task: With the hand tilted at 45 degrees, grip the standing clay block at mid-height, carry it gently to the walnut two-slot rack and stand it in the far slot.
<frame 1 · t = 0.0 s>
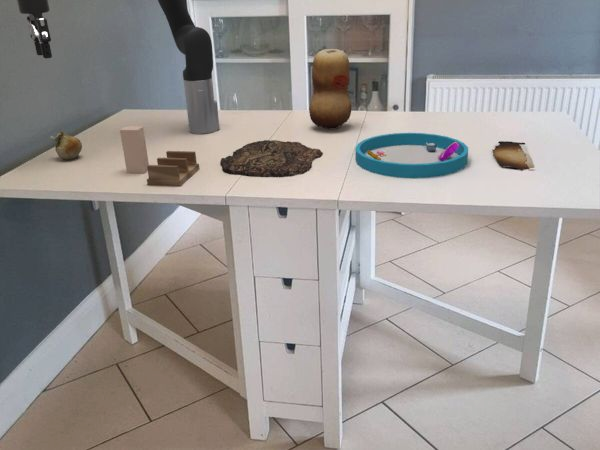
hand: (44, 56, 164), 29 cm above the table, tool pointing down, fingers open, 8 cm apart
rack: (174, 176, 156), on the table
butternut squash: (331, 128, 195), on the table
stone relief: (273, 161, 167), on the table
clay block: (138, 171, 162), on the table
onion: (70, 159, 175), on the table
art supply organizer: (410, 161, 162), on the table
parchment: (511, 157, 161), on the table
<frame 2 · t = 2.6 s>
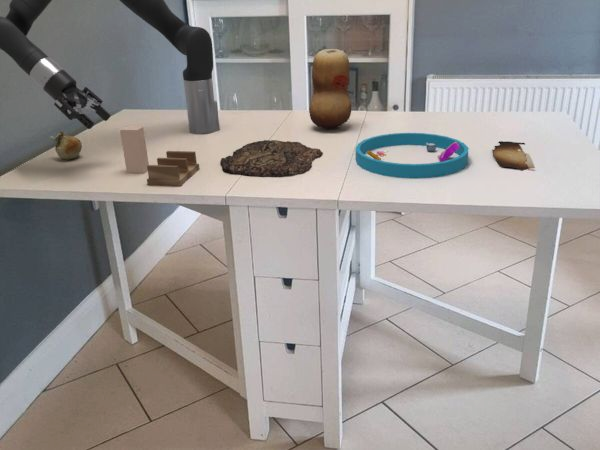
hand: (100, 122, 158), 13 cm above the table, tool tilted 45°, fingers open, 8 cm apart
nothing on the table moved.
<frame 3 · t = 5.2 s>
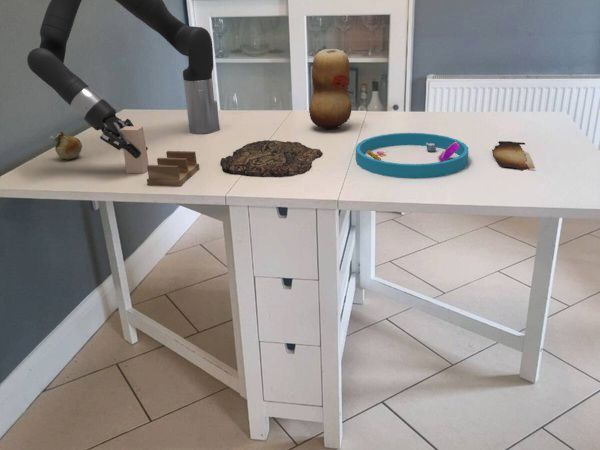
hand: (142, 153, 159), 5 cm above the table, tool tilted 45°, fingers closed on clay block, 3 cm apart
clay block: (138, 171, 162), on the table, touching gripper
everything else where it was.
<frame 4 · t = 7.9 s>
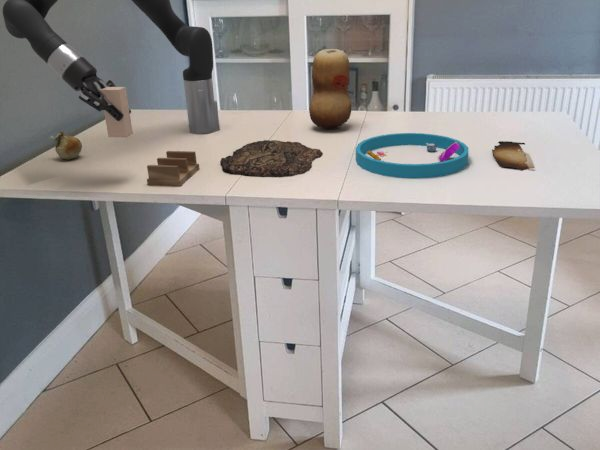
hand: (125, 116, 149), 17 cm above the table, tool tilted 45°, fingers closed on clay block, 3 cm apart
clay block: (120, 135, 151), point 12 cm above the table, touching gripper
everything else where it was.
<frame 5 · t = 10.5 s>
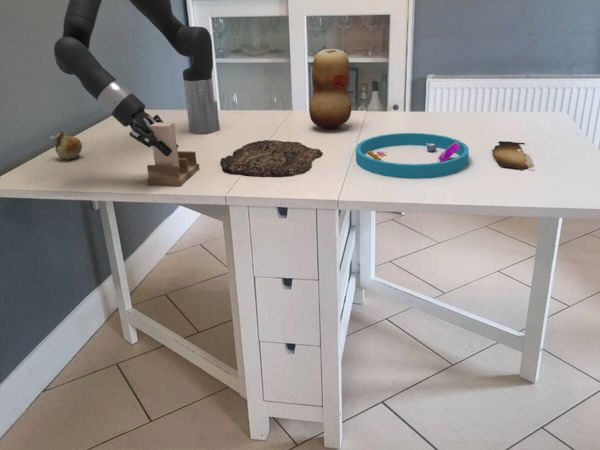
hand: (172, 151, 150), 8 cm above the table, tool tilted 45°, fingers closed on clay block, 3 cm apart
clay block: (168, 170, 152), point 3 cm above the table, touching gripper
everything else where it was.
when the fingers open (8 cm above the table, at t = 10.7 s): clay block drops 1 cm, resting on rack.
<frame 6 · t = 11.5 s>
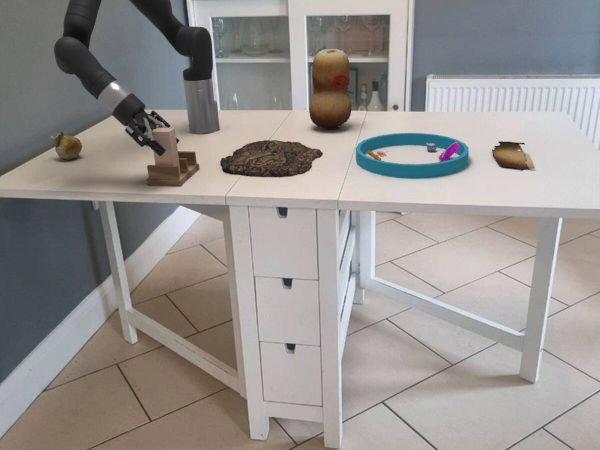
hand: (170, 148, 150), 9 cm above the table, tool tilted 45°, fingers open, 8 cm apart
clay block: (168, 175, 153), point 1 cm above the table, touching rack
everything else where it was.
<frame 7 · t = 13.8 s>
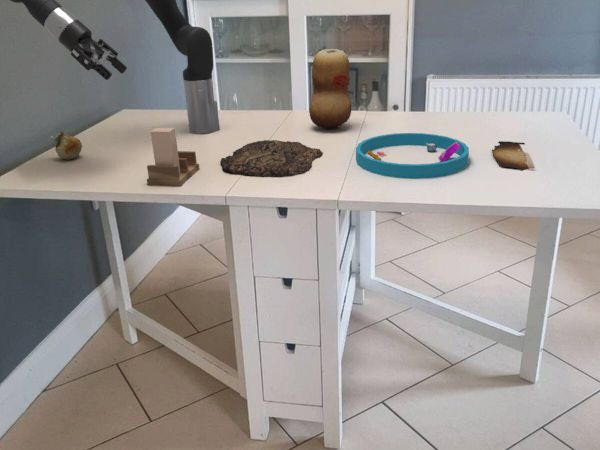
hand: (117, 74, 155), 26 cm above the table, tool tilted 45°, fingers open, 8 cm apart
nothing on the table moved.
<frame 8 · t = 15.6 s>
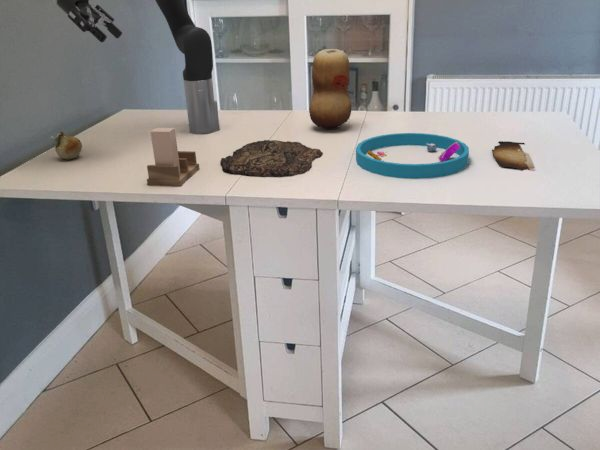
hand: (112, 37, 160), 34 cm above the table, tool tilted 45°, fingers open, 8 cm apart
nothing on the table moved.
at the end: clay block 0.1 cm from the target spot on the rack, point 1.5 cm above the rack's base; clay block tilted 0°; the gripper is holding nothing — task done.
